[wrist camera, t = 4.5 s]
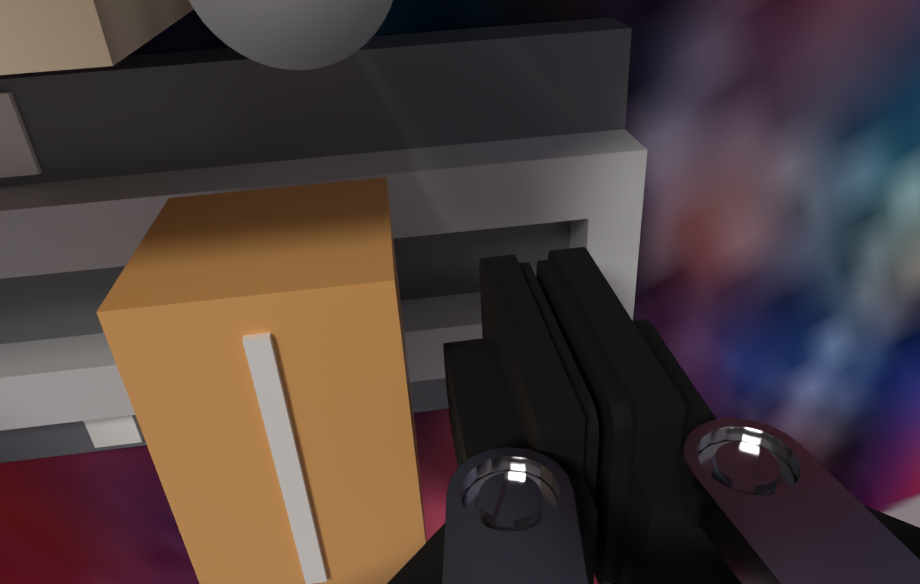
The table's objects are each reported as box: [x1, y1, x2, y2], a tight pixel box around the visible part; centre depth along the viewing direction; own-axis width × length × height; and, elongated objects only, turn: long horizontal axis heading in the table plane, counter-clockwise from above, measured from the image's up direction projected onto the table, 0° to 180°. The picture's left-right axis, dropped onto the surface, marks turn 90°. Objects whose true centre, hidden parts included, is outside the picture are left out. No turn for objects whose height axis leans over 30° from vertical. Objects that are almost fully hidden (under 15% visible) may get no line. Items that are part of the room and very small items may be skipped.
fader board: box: [0, 17, 647, 463], centre depth 14 cm, size 16×8×2 cm, turn 93°
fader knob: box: [96, 177, 427, 584], centre depth 11 cm, size 3×5×5 cm, turn 3°
